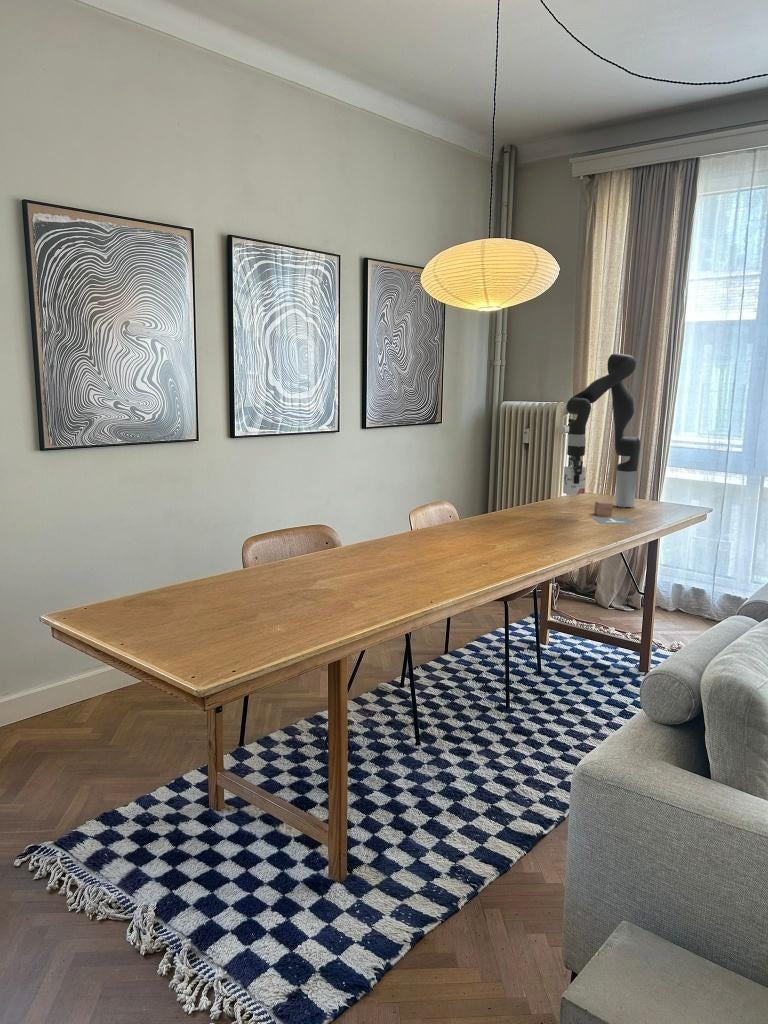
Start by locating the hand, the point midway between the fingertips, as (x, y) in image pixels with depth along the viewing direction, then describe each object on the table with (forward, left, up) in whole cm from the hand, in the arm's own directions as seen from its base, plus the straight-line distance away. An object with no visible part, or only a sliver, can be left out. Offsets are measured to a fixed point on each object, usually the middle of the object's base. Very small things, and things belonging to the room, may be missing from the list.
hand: (574, 482), depth 338 cm
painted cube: (-4, +15, -15) cm, 22 cm away
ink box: (0, 0, -5) cm, 5 cm away
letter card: (+10, +15, -15) cm, 24 cm away
